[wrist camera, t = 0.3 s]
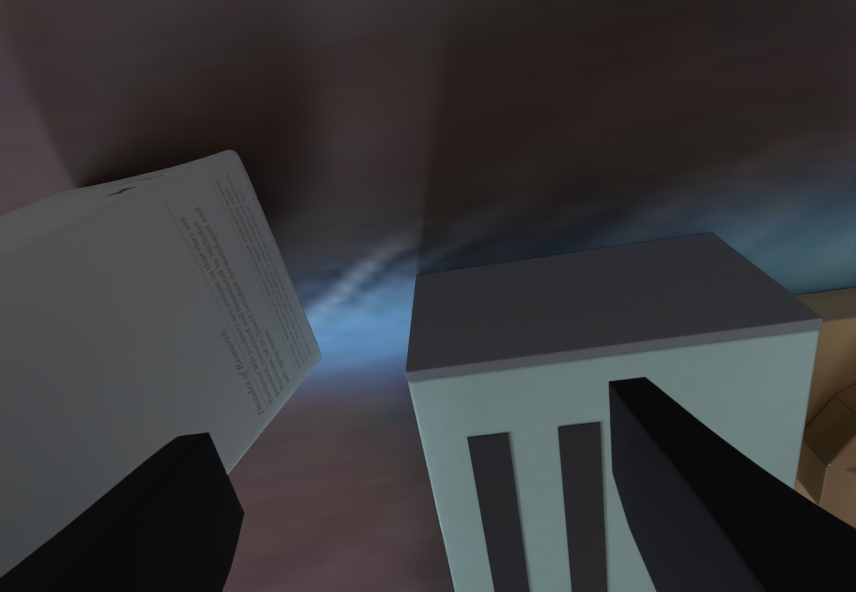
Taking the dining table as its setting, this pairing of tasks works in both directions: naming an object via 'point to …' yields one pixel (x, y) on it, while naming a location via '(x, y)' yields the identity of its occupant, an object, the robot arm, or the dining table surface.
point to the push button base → (831, 409)
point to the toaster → (590, 396)
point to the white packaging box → (136, 336)
